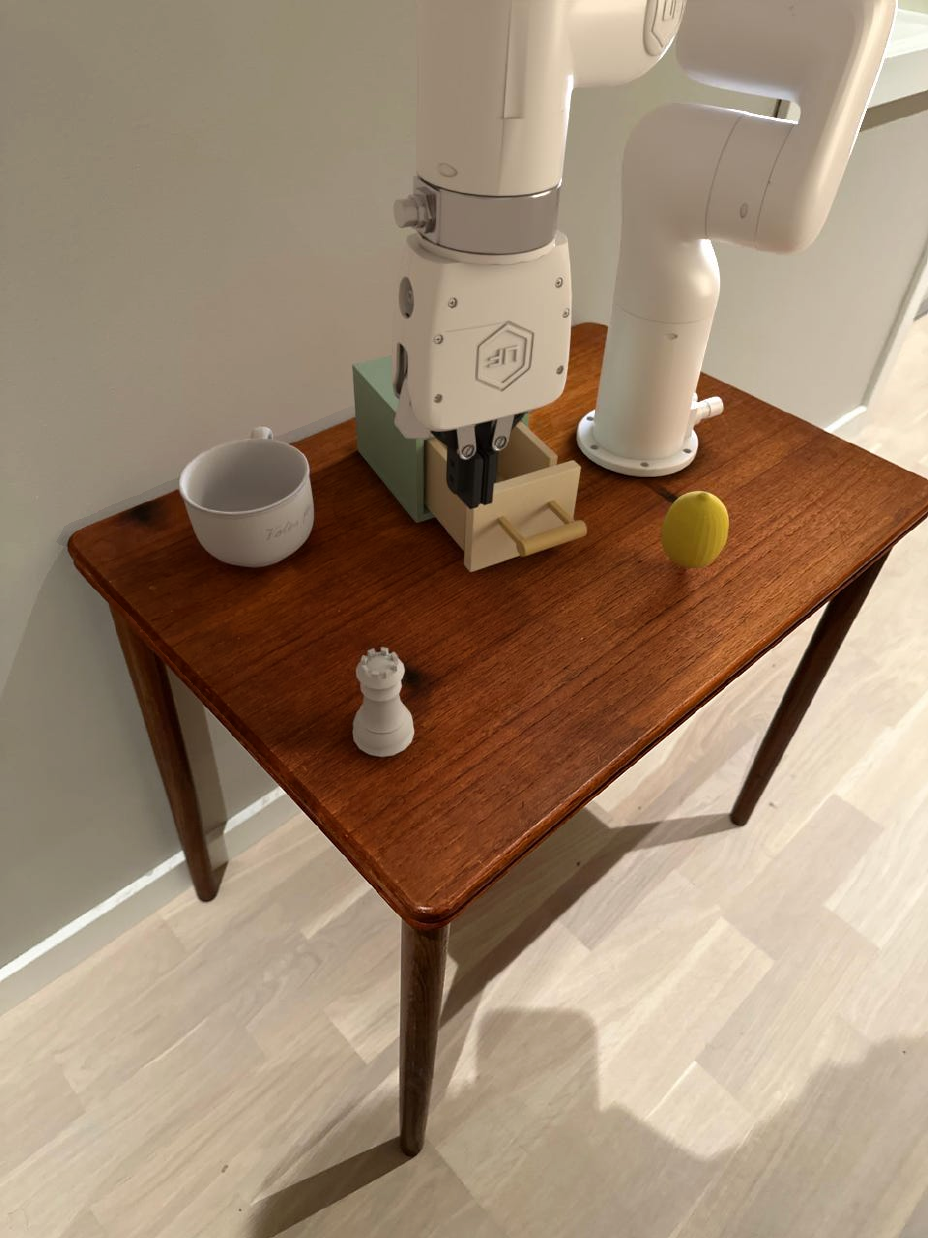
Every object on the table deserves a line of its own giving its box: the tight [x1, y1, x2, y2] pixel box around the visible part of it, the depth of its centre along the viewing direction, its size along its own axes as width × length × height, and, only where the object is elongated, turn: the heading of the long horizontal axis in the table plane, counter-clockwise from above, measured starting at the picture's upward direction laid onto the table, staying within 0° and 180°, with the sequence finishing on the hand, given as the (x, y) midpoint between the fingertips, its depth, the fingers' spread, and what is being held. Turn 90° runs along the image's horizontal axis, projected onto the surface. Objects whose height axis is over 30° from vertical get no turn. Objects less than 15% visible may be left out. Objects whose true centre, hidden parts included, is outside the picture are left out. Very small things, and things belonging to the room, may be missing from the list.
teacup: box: [177, 426, 315, 568], centre depth 76 cm, size 14×11×8 cm
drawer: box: [423, 421, 588, 573], centre depth 76 cm, size 17×10×8 cm, turn 29°
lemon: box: [660, 490, 730, 569], centre depth 75 cm, size 6×6×8 cm
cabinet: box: [351, 355, 530, 524], centre depth 84 cm, size 14×12×10 cm
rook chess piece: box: [352, 646, 415, 758], centre depth 60 cm, size 4×4×8 cm
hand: (470, 495), depth 59 cm, fingers closed
